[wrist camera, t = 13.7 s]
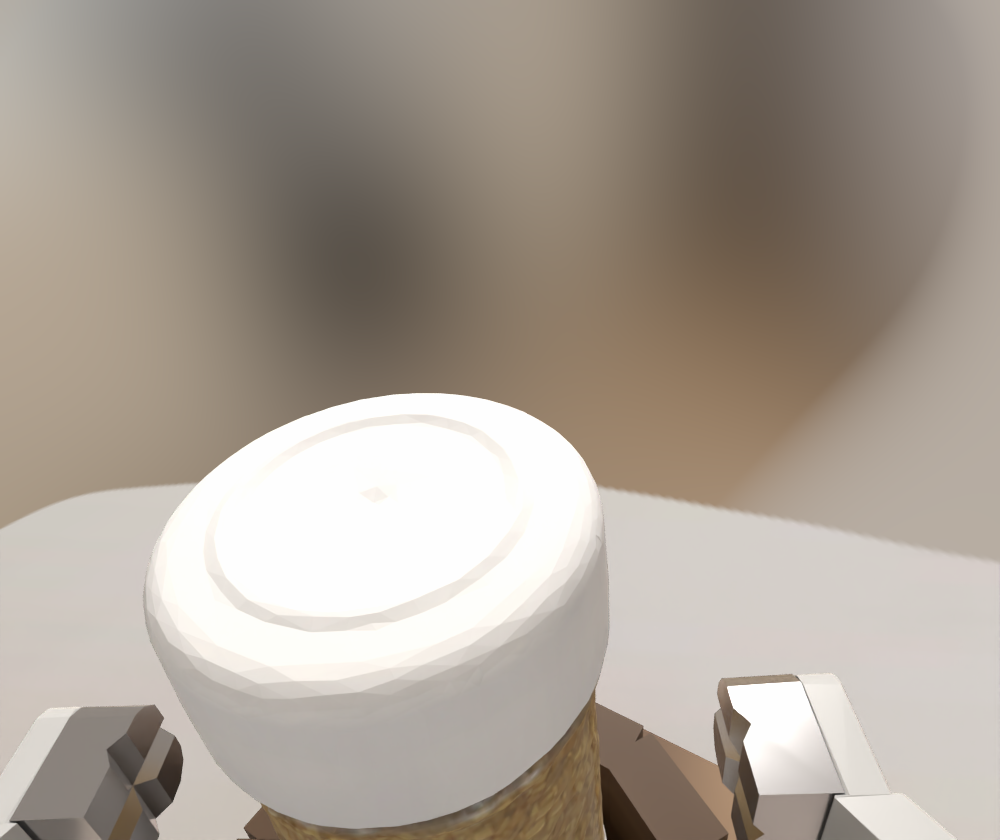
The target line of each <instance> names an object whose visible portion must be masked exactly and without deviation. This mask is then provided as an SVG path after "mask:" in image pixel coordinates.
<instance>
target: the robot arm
mask: <svg viewBox="0 0 1000 840" xmlns="http://www.w3.org/2000/svg"><path fill="white" fill-rule="evenodd" d="M717 695H718V699H719V703H720V707H721V709H719V710H718V711H717V712H716V713H715V716H714V742H715V751H716V757H717V762H718V767H719V771H720V775H721V779H722V783H723V784H724V785H725V786H726V787H727V788H728V789H729V790H730V791H731V792H732V793H733V794H734V798H733V805H732V812H731V819H732V823H733V827H734V830H735V834H736V838H737V840H958V839H956V838H955V837H954V836H953V835H952V834H951V833H949V832H948V831H947V830H946V829H945V828H944V827H943V826H941V825H940V824H939V823H938V822H937V821H936V820H934V819H933V818H932V817H931V816H930V815H929V814H928V813H926V812H925V811H924V810H923V809H922V808H921V807H919V806H918V805H917V804H916V803H915V802H914V801H913V800H911V799H910V798H909V797H908V796H907V795H906V794H904V793H892V792H891V790H890V788H889V786H888V783H887V781H886V779H885V777H884V775H883V772H882V770H881V768H880V766H879V764H878V761H877V759H876V757H875V755H874V753H873V751H872V748H871V746H870V744H869V742H868V740H867V737H866V735H865V733H864V731H863V729H862V727H861V724H860V722H859V720H858V718H857V716H856V713H855V711H854V709H853V707H852V705H851V703H850V700H849V698H848V696H847V694H846V692H845V689H844V687H843V685H842V683H841V681H840V680H839V679H838V678H837V677H836V676H835V675H834V674H832V673H820V674H804V675H793V674H784V675H768V676H752V677H736V678H722V679H721V680H720V681H719V684H718V691H717ZM163 719H164V717H163V716H162V714H161V713H160V712H159V710H158V709H157V707H156V706H155V705H130V706H101V707H65V708H49V709H47V710H46V711H45V712H44V713H43V714H41V715H40V716H39V717H38V718H37V719H36V720H35V721H34V723H33V725H32V726H31V728H30V729H29V731H28V733H27V734H26V736H25V737H24V739H23V740H22V742H21V744H20V745H19V747H18V748H17V750H16V751H15V753H14V755H13V756H12V758H11V759H10V761H9V763H8V764H7V766H6V767H5V769H4V770H3V772H2V774H1V775H0V840H157V839H158V837H159V830H158V826H157V821H156V818H157V817H158V816H159V815H160V814H161V813H162V812H163V811H164V810H165V809H166V808H167V807H168V806H169V805H170V804H171V803H172V802H173V800H174V797H175V794H176V792H177V789H178V787H179V784H180V781H181V774H182V766H183V756H182V750H181V745H180V744H179V742H178V740H177V739H176V737H175V736H174V735H173V734H171V733H169V732H167V731H166V730H164V729H162V728H160V726H161V723H162V721H163Z"/></svg>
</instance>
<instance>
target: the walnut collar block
mask: <svg viewBox="0 0 1000 840" xmlns="http://www.w3.org/2000/svg"><path fill="white" fill-rule="evenodd" d="M595 705H596V715H597V731H598V735H599V757H600V778H601V793H602V813H603V825H604V829H605V833H606V838H607V840H737V838H736V834H735V830H734V827H733V823H732V819H731V812H732V805H733V798H734V794H733V793H732V792H731V791H730V790H729V789H728V788H727V787H726V786H725V785H724V784H723V783H722V779H721V775H720V771H719V767H718V765H716V764H714V763H712V762H710V761H708V760H706V759H704V758H701V757H699V756H697V755H695V754H693V753H691V752H689V751H687V750H685V749H683V748H681V747H679V746H677V745H675V744H673V743H671V742H669V741H667V740H665V739H663V738H661V737H659V736H657V735H655V734H653V733H651V732H649V731H647V730H644V729H643V725H640V724H638V723H636V722H634V721H632V720H630V719H628V718H626V717H624V716H622V715H620V714H618V713H616V712H614V711H612V710H610V709H608V708H606V707H604V706H602V705H600V704H598V703H595ZM244 829H245V831H246V833H247V834H248V836H249V838H250V839H237V840H280V839H279V837H278V835H277V833H276V831H275V829H274V827H273V825H272V822H271V820H270V818H269V816H268V814H267V812H266V811H265V810H264V809H263V807H262V808H261V809H260V810H259V811H258V812H257V813H256V814H255V815H254V817H253V818H252V819H251V820H250V821H249V822H248V823H247V825H246V826H245V827H244Z"/></svg>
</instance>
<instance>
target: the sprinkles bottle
mask: <svg viewBox="0 0 1000 840" xmlns="http://www.w3.org/2000/svg"><path fill="white" fill-rule="evenodd" d="M143 608H144V614H145V620H146V627H147V631H148V634H149V638H150V642H151V644H152V646H153V648H154V650H155V652H156V654H157V656H158V658H159V660H160V662H161V664H162V666H163V668H164V670H165V672H166V674H167V676H168V678H169V680H170V682H171V684H172V686H173V688H174V690H175V692H176V694H177V696H178V698H179V700H180V702H181V704H182V706H183V708H184V710H185V711H186V713H187V715H188V717H189V719H190V720H191V722H192V724H193V725H194V727H195V729H196V730H197V732H198V734H199V735H200V737H201V739H202V740H203V742H204V744H205V745H206V747H207V749H208V750H209V752H210V754H211V755H212V757H213V759H214V760H215V762H216V764H217V765H218V766H219V767H220V768H221V769H222V770H223V771H224V772H225V774H226V775H227V776H228V777H229V778H230V779H231V780H232V781H233V782H234V783H235V784H236V785H237V786H239V787H240V788H241V789H242V790H243V791H245V792H246V793H247V794H249V795H250V796H251V797H253V798H254V799H255V800H257V801H258V802H260V803H261V805H262V807H263V809H264V810H265V811H266V812H267V814H268V816H269V818H270V820H271V822H272V825H273V827H274V829H275V831H276V833H277V835H278V837H279V839H280V840H607V838H606V833H605V829H604V825H603V813H602V793H601V778H600V757H599V735H598V731H597V715H596V705H595V688H596V685H597V682H598V680H599V677H600V673H601V669H602V665H603V661H604V657H605V653H606V649H607V645H608V637H609V577H608V564H607V551H606V538H605V526H604V515H603V509H602V502H601V498H600V495H599V492H598V489H597V486H596V483H595V481H594V479H593V477H592V475H591V473H590V471H589V469H588V467H587V466H586V464H585V462H584V460H583V458H582V457H581V456H580V455H579V454H578V452H577V451H576V450H575V449H574V447H573V446H572V445H571V444H570V443H569V442H568V441H566V440H565V439H564V438H563V437H562V436H561V435H560V434H559V433H558V432H557V431H555V430H554V429H552V428H551V427H549V426H548V425H546V424H544V423H543V422H541V421H540V420H538V419H536V418H534V417H532V416H530V415H528V414H526V413H524V412H522V411H520V410H517V409H514V408H512V407H509V406H506V405H503V404H500V403H496V402H493V401H489V400H485V399H480V398H475V397H468V396H462V395H451V394H400V395H390V396H383V397H376V398H371V399H364V400H359V401H355V402H351V403H347V404H343V405H339V406H336V407H332V408H329V409H326V410H323V411H320V412H317V413H314V414H311V415H308V416H305V417H302V418H300V419H298V420H296V421H293V422H291V423H289V424H286V425H284V426H282V427H280V428H278V429H275V430H273V431H271V432H269V433H267V434H265V435H264V436H262V437H260V438H258V439H256V440H255V441H253V442H251V443H250V444H248V445H247V446H245V447H244V448H242V449H241V450H239V451H238V452H237V453H235V454H234V455H232V456H231V457H229V458H228V459H227V460H225V461H224V462H223V463H221V464H220V465H219V466H218V467H217V468H215V469H214V470H213V471H212V472H211V473H210V474H208V475H207V476H206V477H205V478H204V479H203V480H202V481H201V482H200V483H199V484H198V485H197V486H195V487H194V489H193V490H192V491H191V492H190V493H189V494H188V495H187V497H186V498H185V499H184V500H183V501H182V503H181V504H180V505H179V506H178V508H177V509H176V510H175V512H174V513H173V514H172V516H171V517H170V519H169V520H168V522H167V523H166V525H165V527H164V529H163V531H162V533H161V534H160V536H159V538H158V540H157V542H156V545H155V547H154V550H153V552H152V555H151V557H150V560H149V563H148V567H147V571H146V576H145V584H144V591H143Z"/></svg>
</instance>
